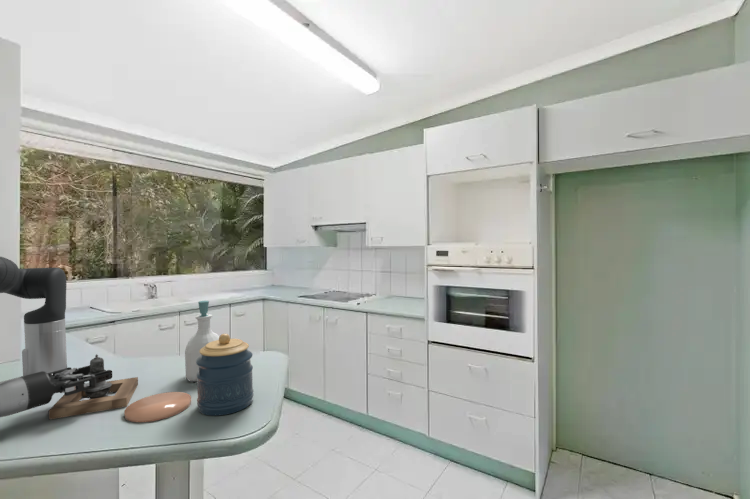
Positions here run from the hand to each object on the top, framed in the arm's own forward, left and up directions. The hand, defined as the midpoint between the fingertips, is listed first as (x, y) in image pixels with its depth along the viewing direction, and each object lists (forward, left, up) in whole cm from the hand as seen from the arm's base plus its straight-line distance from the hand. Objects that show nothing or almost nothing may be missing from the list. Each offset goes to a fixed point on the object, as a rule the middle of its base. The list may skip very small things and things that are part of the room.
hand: (103, 370), depth 95 cm
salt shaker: (-1, -1, -7) cm, 8 cm away
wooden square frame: (-1, -1, -7) cm, 7 cm away
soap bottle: (+24, +5, -7) cm, 26 cm away
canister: (+29, -18, -7) cm, 35 cm away
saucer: (+14, -13, -7) cm, 20 cm away
